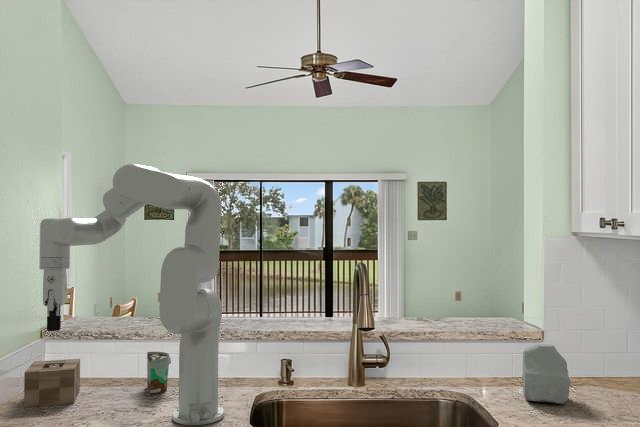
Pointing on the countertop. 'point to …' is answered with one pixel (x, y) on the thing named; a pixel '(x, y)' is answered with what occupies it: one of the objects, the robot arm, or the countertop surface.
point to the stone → (545, 374)
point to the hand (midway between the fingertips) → (53, 330)
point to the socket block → (51, 383)
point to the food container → (157, 372)
